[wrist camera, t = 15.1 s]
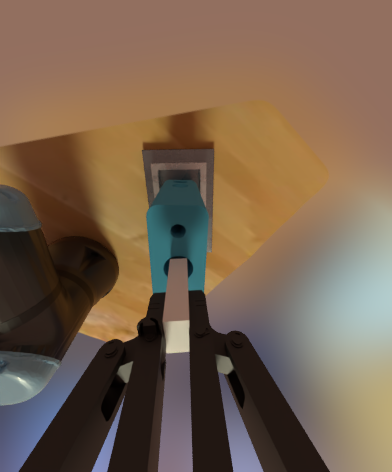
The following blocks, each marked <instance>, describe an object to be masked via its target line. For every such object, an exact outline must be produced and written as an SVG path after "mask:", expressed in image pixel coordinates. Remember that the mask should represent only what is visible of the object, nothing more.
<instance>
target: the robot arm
mask: <svg viewBox="0 0 392 472" xmlns="http://www.w3.org/2000/svg"><path fill="white" fill-rule="evenodd" d="M41 227H42V223H41V222H40V221H39V220H38V219H37V217H36V215H35V212H34V210H33V208H32V206H31V204H30V202H29V200H28V198H27V197H26V195H25V194H24V193H22V192H21V191H19V190H18V189H15V188H13V187H10V186H6V185H1V184H0V405H10V404H16V403H20V402H23V401H26V400H28V399H30V398H32V397H33V396H35V395H36V394H38V393H39V392H41V391H42V390H43V388H44V387H45V386H46V385H47V383H48V382H49V380H50V379H51V377H52V376H53V374H54V373H55V371H56V370H57V368H59V367H60V365H61V361H62V359H63V357H64V355H65V354H66V352H67V350H68V348H69V347H70V345H71V343H72V341H73V340H74V338H75V336H76V334H77V333H78V331H79V329H80V327H81V326H82V324H83V322H84V321H85V319H86V317H87V315H88V313H89V312H90V310H91V308H92V307H93V306H94V305H95V304H96V303H97V302H98V301H99V300H100V299H101V298H103V297H104V296H106V295H107V294H108V293H109V292H110V291H111V290H112V288H113V287H114V285H115V283H116V281H117V279H118V275H119V268H118V264H117V261H116V259H115V258H114V256H113V255H112V253H111V252H110V251H109V250H108V249H107V248H105V247H104V246H103V245H101V244H100V243H98V242H96V241H94V240H91V239H88V238H84V237H76V236H72V237H65V238H61V239H59V240H57V241H55V242H54V243H52V244H51V245H49V246H47V243H46V240H45V238H44V235H43V232H42V230H41ZM137 330H138V336H137V337H136V338H134V339H132V340H129V341H127V342H124V343H123V342H122V341H121V340H118V339H113V340H110V341H108V342H106V343H105V344H104V345H103V346H102V347H101V348H100V349H99V351H98V352H97V354H96V356H95V357H94V359H93V360H92V361H91V363H90V364H89V366H88V368H87V369H86V370H85V372H84V374H83V375H82V377H81V378H80V380H79V381H78V383H77V384H76V386H75V387H74V389H73V390H72V392H71V393H70V395H69V396H68V398H67V399H66V401H65V403H64V404H63V405H62V407H61V408H60V410H59V411H58V413H57V414H56V416H55V417H54V419H53V420H52V422H51V423H50V425H49V426H48V428H47V430H46V431H45V433H44V434H43V436H42V437H41V439H40V440H39V442H38V443H37V445H36V446H35V448H34V449H33V451H32V452H31V454H30V455H29V457H28V458H27V460H26V461H25V463H24V464H23V466H22V467H21V469H20V470H19V472H91V471H92V469H93V467H94V464H95V462H96V460H97V458H98V455H99V453H100V451H101V448H102V446H103V444H104V441H105V439H106V437H107V435H108V432H109V430H110V428H111V426H112V423H113V421H114V419H115V416H116V414H117V412H118V410H119V407H120V405H121V402H122V400H123V398H124V396H125V398H124V402H123V407H122V411H121V415H120V420H119V424H118V429H117V432H116V437H115V441H114V446H113V450H112V454H111V458H110V463H109V467H108V471H107V472H158V461H159V448H160V434H161V421H162V408H163V396H164V382H165V369H166V359H165V356H166V353H177V352H190V385H191V420H192V450H193V451H192V454H193V472H233V467H232V461H231V454H230V447H229V441H228V435H227V428H226V421H225V415H224V409H223V402H222V395H221V389H220V382H219V376H218V372H220V373H224V375H225V378H226V380H227V382H228V385H229V388H230V390H231V393H232V395H233V398H234V400H235V402H236V405H237V407H238V410H239V412H240V415H241V417H242V419H243V422H244V424H245V427H246V429H247V432H248V434H249V437H250V439H251V441H252V444H253V446H254V449H255V451H256V454H257V456H258V459H259V461H260V464H261V466H262V469H263V471H264V472H330V471H329V470H328V468H327V466H326V465H325V463H324V461H323V460H322V459H321V456H320V455H319V453H318V452H317V450H316V448H315V447H314V445H313V443H312V442H311V440H310V439H309V437H308V435H307V434H306V432H305V430H304V429H303V427H302V426H301V424H300V422H299V421H298V419H297V417H296V416H295V414H294V413H293V411H292V409H291V408H290V406H289V404H288V403H287V401H286V399H285V398H284V396H283V395H282V393H281V391H280V390H279V388H278V387H277V385H276V383H275V382H274V380H273V378H272V377H271V375H270V374H269V372H268V370H267V369H266V367H265V365H264V364H263V362H262V361H261V359H260V357H259V356H258V354H257V352H256V351H255V349H254V347H253V346H252V344H251V343H250V341H249V339H248V338H247V337H246V335H245V334H243V333H242V332H239V331H231V332H229V333H228V334H227V335H226V334H221V333H218V332H216V331H215V330H213V329H212V328H211V326H210V324H209V318H208V312H207V306H206V298H205V294H204V293H203V291H202V290H188V270H187V258H182V259H170V263H169V271H168V279H167V288H166V292H160V293H154V294H153V295H152V296H151V298H150V301H149V306H148V311H147V315H146V317H145V318H143V319H142V320H141V321H140V322H139V323H138V325H137ZM125 393H126V394H125Z"/></svg>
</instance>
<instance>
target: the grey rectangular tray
mask: <svg viewBox="0 0 392 472" xmlns="http://www.w3.org/2000/svg"><path fill="white" fill-rule="evenodd" d="M142 154H143V162H144V170H145V178H146V186H147V194H148V202H149V208H150V206H151V204H152V203H153V201H154V199H155V197H156V196H157V194H158V192H159V190H160V189H161V187H162V185H163V184H164V182H165V181H166V180H192V181H194V182H195V183H196V184H197V187H198V189H199V192H200V194H201V197H202V199H203V202H204V204H205V207H206V209H207V212H208V214H209V221H208V237H207V252H212V213H213V172H214V149H180V150H142Z"/></svg>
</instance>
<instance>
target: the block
mask: <svg viewBox="0 0 392 472" xmlns="http://www.w3.org/2000/svg"><path fill="white" fill-rule="evenodd" d="M146 218H147V229H148V241H149V253H150V265H151V277H152V288H153V294H154V293H160V292H166V288H167V279H168V271H169V263H170V259H182V258H187V270H188V290H202V291H203V293H204V284H205V268H206V252H207V237H208V221H209V214H208V212H207V209H206V207H205V204H204V202H203V199H202V197H201V194H200V192H199V189H198V187H197V184H196V183H195V182H194V181H192V180H166V181H165V182H164V184H163V185H162V187H161V189H160V190H159V192H158V194H157V196H156V197H155V199H154V201H153V203H152V204H151V206H150V208H149V209H148V211H147V216H146Z"/></svg>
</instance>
